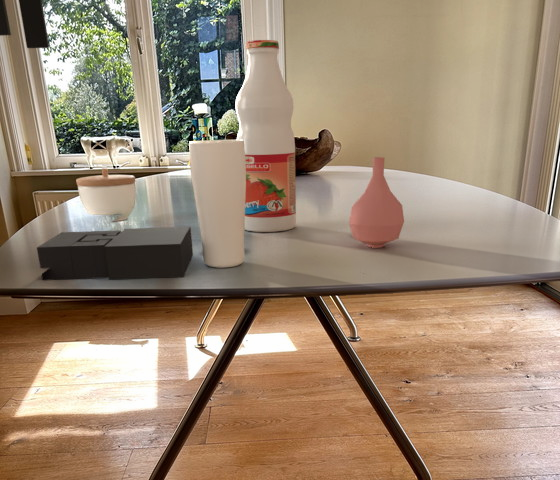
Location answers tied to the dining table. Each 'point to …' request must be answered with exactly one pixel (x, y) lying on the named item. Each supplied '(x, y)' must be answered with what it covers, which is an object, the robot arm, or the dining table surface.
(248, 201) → the fruit juice
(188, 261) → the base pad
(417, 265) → the dining table surface
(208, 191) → the drinking glass
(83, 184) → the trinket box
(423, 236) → the dining table surface
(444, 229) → the dining table surface
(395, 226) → the pink teardrop shaped piece
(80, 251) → the dark grey block
